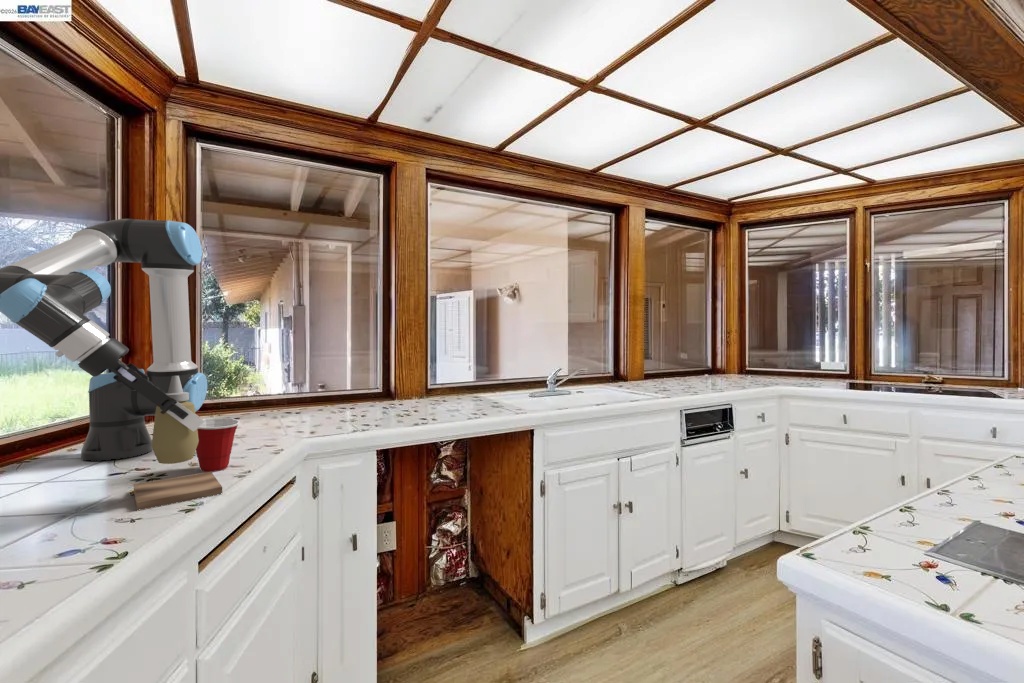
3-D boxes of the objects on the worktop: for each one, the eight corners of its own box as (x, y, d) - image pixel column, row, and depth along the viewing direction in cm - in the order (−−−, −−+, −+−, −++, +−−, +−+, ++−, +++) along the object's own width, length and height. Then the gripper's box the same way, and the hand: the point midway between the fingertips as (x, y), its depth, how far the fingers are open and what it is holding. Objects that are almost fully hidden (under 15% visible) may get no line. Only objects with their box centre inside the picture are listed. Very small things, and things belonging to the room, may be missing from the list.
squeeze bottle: (161, 468, 91) (161, 378, 91) (144, 462, 96) (144, 376, 95) (206, 459, 98) (205, 375, 98) (188, 454, 103) (187, 373, 102)
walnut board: (133, 491, 98) (133, 484, 98) (211, 477, 108) (211, 471, 107) (136, 510, 88) (136, 502, 88) (222, 493, 97) (222, 486, 97)
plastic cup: (215, 476, 108) (215, 426, 108) (177, 473, 111) (176, 424, 110) (250, 463, 119) (250, 417, 119) (214, 461, 121) (214, 416, 121)
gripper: (77, 361, 94) (176, 430, 105) (72, 366, 79) (187, 446, 90) (111, 335, 97) (203, 405, 108) (112, 336, 83) (218, 416, 94)
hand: (196, 423), depth 99 cm, fingers closed on squeeze bottle, 6 cm apart
